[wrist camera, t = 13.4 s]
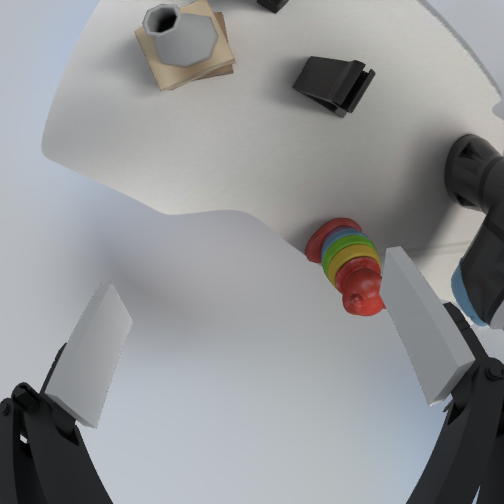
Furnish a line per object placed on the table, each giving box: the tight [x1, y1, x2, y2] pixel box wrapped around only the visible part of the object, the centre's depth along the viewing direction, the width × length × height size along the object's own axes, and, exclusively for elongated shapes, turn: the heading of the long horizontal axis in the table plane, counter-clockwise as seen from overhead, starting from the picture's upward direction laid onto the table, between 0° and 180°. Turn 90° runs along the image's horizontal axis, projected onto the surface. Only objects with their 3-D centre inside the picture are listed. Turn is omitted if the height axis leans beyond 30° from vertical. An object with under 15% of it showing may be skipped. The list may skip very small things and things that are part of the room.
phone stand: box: [292, 56, 375, 118], centre depth 29 cm, size 9×6×12 cm, turn 62°
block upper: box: [134, 0, 236, 90], centre depth 25 cm, size 9×9×5 cm
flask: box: [142, 4, 219, 68], centre depth 19 cm, size 7×7×10 cm
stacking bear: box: [305, 218, 387, 316], centre depth 41 cm, size 11×10×18 cm
